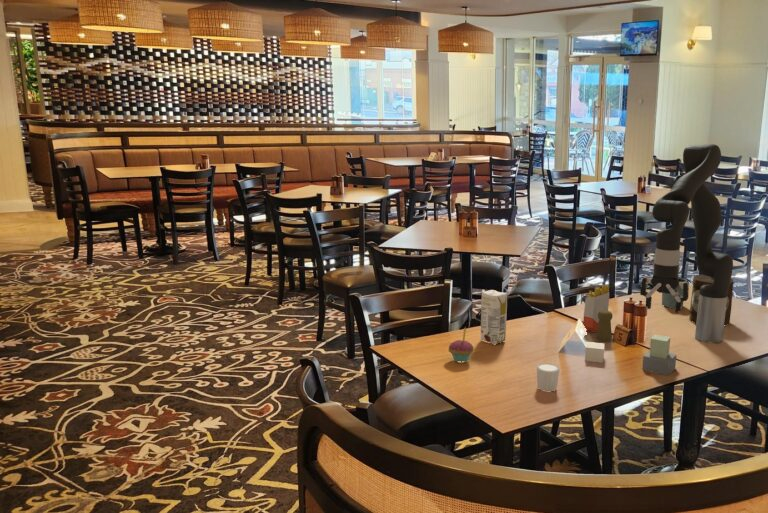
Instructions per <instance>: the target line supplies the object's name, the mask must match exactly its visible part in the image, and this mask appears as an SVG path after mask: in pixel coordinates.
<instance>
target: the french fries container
mask: <svg viewBox="0 0 768 513" xmlns="http://www.w3.org/2000/svg"><path fill="white" fill-rule="evenodd" d="M588 291H589V293H588V295H586V298H585V301H584V309H583V310H584V311H583V322H582V326H583V325H584V326H585V327H584V326H583V327H584V329H585V328H586V329H587V330H586V329H585V330H586V331H589V332H591V333H592V332H593V333H594V334H595V333H597V328H598V323H599V318H598V313H599V312H600V311H603V310H605V311H609V306H610V304H609V303H610V285H602V286H601V287H600V286H598V287H594V292H593V290H588Z"/></svg>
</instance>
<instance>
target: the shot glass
mask: <svg viewBox="0 0 768 513" xmlns="http://www.w3.org/2000/svg"><path fill="white" fill-rule="evenodd" d="M559 374H560V367H559V366H558V365H556V364H553V363H539V364H537V365H536V379H537V380H536V381H537V389H538V388H540V389H541V390H545V391H554V390H556V391H557V387H558V383H559V382H558V381H559ZM541 390H540V391H541ZM554 392H555V391H554Z"/></svg>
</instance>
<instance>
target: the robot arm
mask: <svg viewBox="0 0 768 513" xmlns="http://www.w3.org/2000/svg"><path fill="white" fill-rule="evenodd" d="M721 160H722V151H721V148H720V146H718V145H717V144H713V143H711V144H710V143H706V144H692V145H687V146H686V147H684V150H683V152H682V163H683V169H684V173H685V174H684V175H682V176H681V177H679V178H678V179H677V180H676V181H675V182H674V184H673V186H672V187H671V189H670V190H669V191H668V192H667V193H665V194H664V195H663V196H661V197H660V198H659V199H658V200H657V201H656V202H655V203H654V205H653V207H652V211H651V212H652V213H651V214H652V217H653V218H654V220H655V221H657V222H659V223H670V224H673V226H672V227H671V228H667V229H666V228H665V229H660V230H658V232H656V233H657V234H656V243H655V251H654V255H653V256H654V258H653V272H652V277H648V276H644V277H643V278H642V279H641V287H640V292H639V295H641V296H643V297H645V307H646V309H647V310H650V309H651V308H652V296H653V295H654V293H655V292H658V293H660V294H662V293H667V294H669V293H671V294H672V295H673V297H675V299H676V300H677V301H676V308H674V309H675V310H674V312H675V314H678V313H679V312H681V310H682V308H681V304H682V301H684V302H686V301H688V299H689V289H690V288H689V287H690V286H689V285H690V282H689V281H688V280H687V281H686V282H679V280H678V278H679V274H680V272H679V271H680V263H681V262H680V260H681V259H680V258H681V253H680V252H681V249H680V248H681V242H682V241H681V239H682V235H683V230H684V228H685V225H686V222H687V220H688V219H689V215H690V207H691V214H692V215H691V216H692V222H693V226H694V228H693V229H694V235H695V247H696V248H695V250H696V251H695V252H696V267H697V271H698V272H699V275H705V276H710V277H714V278H715V279H714V283H713V284H708V285H703V286H701V287H700V292H699V303H698V312H697V322H696V323H695V334H694V338H695V340H697V339H698V340H697V341H700V340H701V341H700V342H703V341H705V342H704V343H708V342H719V343H721V342H720V341H722V342H723V337H724V329H725V328H724V327H725V326H724V320H725V311H726V301H727V293H728V290H729V287H730V281H731V279H732V274H733V269H734V260H733V258H732V256H731V255H729V254H728V253H724V252H723V253H721V252H717V251H713V249H712V248H713V247H712V241H713V238H714V235H715V234H716V232H718V230H719V227H720V226H721V224H722V222H723V221H722V220H723V217H722V209H721V208H722V207H721V203H720V201H719V199H718V197H717V196H716V195H715V194H714V192H712V191H711V190H710V188H709V187H707V185H706V183H705V182H706V181H707V180H708V179H709V178H710V177H711V176H712V175H713V174H714V173H715V172H717V171H716V170H718V168H719V166H720V164H721V162H722V161H721ZM689 204H690V205H691V206H690V207H689ZM650 283H651V284H652V287H653V288H652V289H650V290H649V292H648V291H647V285H649V284H650ZM679 285H680V286H681V288H682V289H683V297H681V296H680V294H679V292H678V291H677V289H676V288H677V287H678V286H679Z"/></svg>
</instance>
